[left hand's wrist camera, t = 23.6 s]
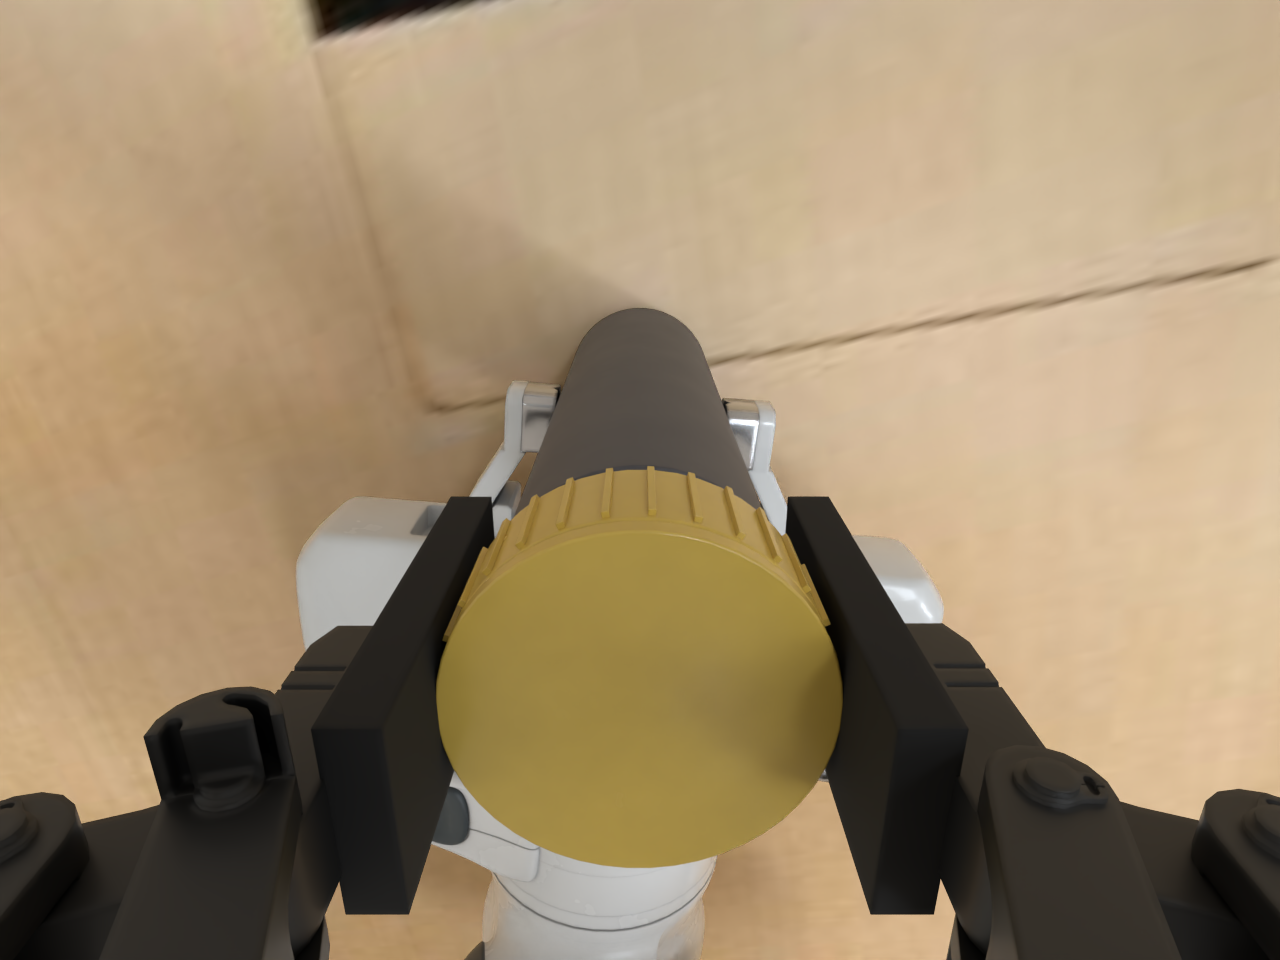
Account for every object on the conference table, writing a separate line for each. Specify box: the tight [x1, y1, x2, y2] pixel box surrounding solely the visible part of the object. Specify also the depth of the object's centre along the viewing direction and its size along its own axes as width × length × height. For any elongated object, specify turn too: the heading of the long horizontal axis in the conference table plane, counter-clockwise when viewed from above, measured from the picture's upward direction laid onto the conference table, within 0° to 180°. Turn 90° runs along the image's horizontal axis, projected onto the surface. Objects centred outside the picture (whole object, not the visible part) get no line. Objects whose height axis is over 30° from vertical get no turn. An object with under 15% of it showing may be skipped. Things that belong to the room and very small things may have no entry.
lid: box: [436, 466, 843, 868], centre depth 11 cm, size 6×6×2 cm
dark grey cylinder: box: [514, 308, 762, 517], centre depth 20 cm, size 5×5×19 cm
